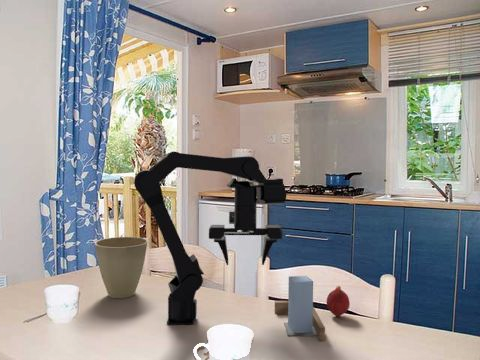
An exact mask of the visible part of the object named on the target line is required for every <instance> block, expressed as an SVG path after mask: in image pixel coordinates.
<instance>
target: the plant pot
mask: <svg viewBox="0 0 480 360" xmlns="http://www.w3.org/2000/svg"><path fill="white" fill-rule="evenodd" d="M94 247H95V252H96V258H97V263H98V268H99V272H100V275H101V278H102V281H103V284H104V287H105V290H106V292H107V295H108V297H110V298H112V299H126V298H131V297H132V296H134V295H135V293H136V291H137V288H138V285H139V283H140V279H141V275H142V272H143V269H144V264H145V260H146V259H145V258H146V254H147V248H148V239H146V238H143V237H138V236H116V237H107V238H102V239H99V240H97V241H95V242H94Z"/></svg>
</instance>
